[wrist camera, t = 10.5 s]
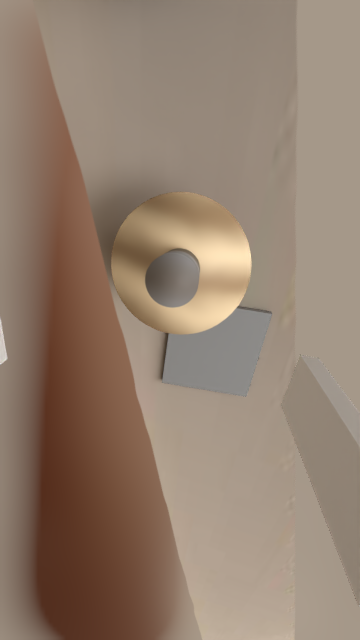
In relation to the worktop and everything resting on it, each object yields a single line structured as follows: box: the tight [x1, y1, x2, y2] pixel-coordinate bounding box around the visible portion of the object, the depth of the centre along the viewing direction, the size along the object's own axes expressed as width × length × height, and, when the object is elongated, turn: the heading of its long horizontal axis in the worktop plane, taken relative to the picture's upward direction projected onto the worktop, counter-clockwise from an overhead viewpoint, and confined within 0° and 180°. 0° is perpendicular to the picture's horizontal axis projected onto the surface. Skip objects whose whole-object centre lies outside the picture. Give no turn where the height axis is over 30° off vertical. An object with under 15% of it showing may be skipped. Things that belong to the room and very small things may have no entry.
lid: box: [111, 192, 251, 334], centre depth 25 cm, size 15×15×8 cm
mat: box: [162, 306, 272, 397], centre depth 45 cm, size 17×16×1 cm
